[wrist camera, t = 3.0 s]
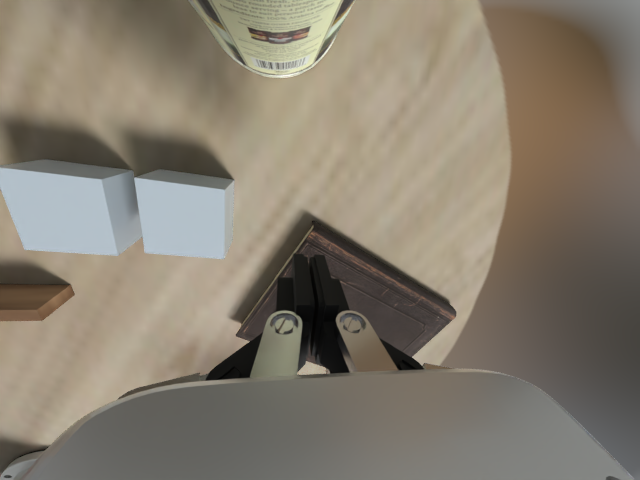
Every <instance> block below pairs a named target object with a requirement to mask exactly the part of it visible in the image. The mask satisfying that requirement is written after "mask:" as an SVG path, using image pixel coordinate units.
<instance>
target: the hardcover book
mask: <svg viewBox="0 0 640 480" xmlns="http://www.w3.org/2000/svg"><path fill="white" fill-rule="evenodd" d="M312 222H313V226H312V227H311V228H310V230H309V231H308V233H307V234H306V235H305V237H304V238H303V240H302V241H301V242H300V244H299V245H298V247H297V248H296V249H295V251H294V252H293V253H297V254H304V256H306V257H307V258H308V264H309V260H310V257H313V256H314V254H322V255H325V258H326V262H327V265H328V268H329V272H330V275H331V278H337V279H339V280H340V283H341V286H342V289H343V292H344V294H345V297H346V300H347V303H348V306H349V309H350V311H356V312H358V313H360V314H362V315H363V316H365V317H366V319H367V320H368V321H369V323H370V324H371V326H372V328H373V329H374V331H375V333H376V334H377V336H378V337H379V338H381V339H382V340H384V341H385V342H387V343H389V344H390V345H392V346H394V347H395V348H397V349H398V350H400V351H402V352H403V353H405V354H407V355H408V356H410V357H412V356H413V355H414V354H416V353H417V352H418V351H419V350H420V349H421V348H422V347H423V346H424V345H425V344H427V343H428V342H429V341H430V340H431V339H432V338H433V337H434V336H435V335H436V334H438V333H439V332H440V331H441V330H442V329H443V328H444V327H445V326H446V325H447V324H449V323H450V322H451V321H452V320H453V319H454V318H455V317H456V311H455V309H454V308H453V307H452V306H451V305H449V304H448V303H446V302H445V301H443V300H441V299H440V298H438V297H436V296H435V295H433V294H432V293H430V292H428V291H427V290H425V289H424V288H422V287H420V286H419V285H417V284H415V283H414V282H412V281H411V280H409V279H407V278H406V277H404V276H402V275H401V274H399V273H398V272H396V271H394V270H393V269H391V268H389V267H388V266H386V265H385V264H383V263H381V262H380V261H378V260H376V259H375V258H373V257H372V256H370V255H368V254H367V253H365V252H364V251H362V250H360V249H359V248H357V247H355V246H354V245H352V244H351V243H349V242H347V241H346V240H344V239H342V238H341V237H339V236H338V235H336V234H334V233H333V232H331V231H329V230H328V229H326V228H325V227H323V226H321V225H320V224H318V223H316V222H315V221H312ZM293 253H292V255H291V256H290V258H289V259H288V260H287V262H286V263H285V265H284V266H283V267H282V269H281V270H280V272H279V273H278V274H277V276H276V277H275V279H274V280H273V281H272V283H271V284H270V286H269V287H268V288H267V290H266V291H265V293H264V294H263V295H262V297H261V298H260V300H259V301H258V302H257V304H256V305H255V307H254V308H253V309H252V311H251V312H250V314H249V315H248V316H247V318H246V319H245V320H244V322H243V323H242V325H241V328H240V330H239V331H238V332H237V334H236V336H237V337H240V338H242V339H245V340H248V341H252V340H253V339H254V338H256V337H257V336H258V335H260V334H261V333H263V331H264V328H265V325H266V321H267V320H268V318H269V317H270V316H271V315H272V314H273V313H275V312H276V302H277V283H278V277H291V272H292V259H293ZM306 361H308V362H311V363H314V364H316V361H315V356H311V353H310V345H309V352H308V356H307V357H306ZM317 365H320V366H323V365H322V364H317ZM323 367H324V366H323Z"/></svg>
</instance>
